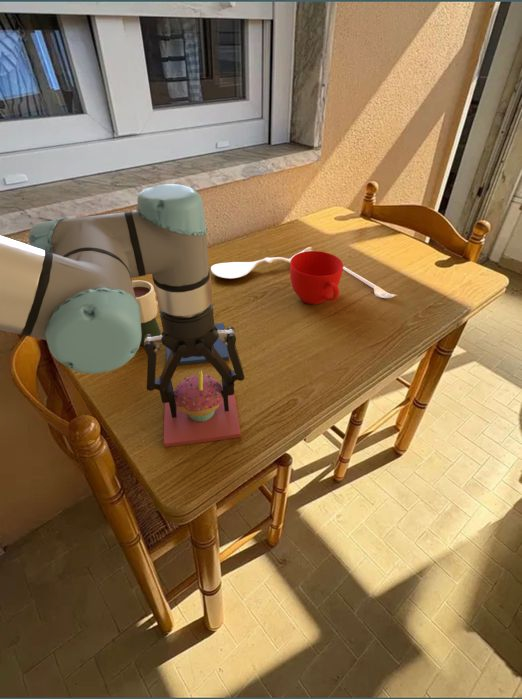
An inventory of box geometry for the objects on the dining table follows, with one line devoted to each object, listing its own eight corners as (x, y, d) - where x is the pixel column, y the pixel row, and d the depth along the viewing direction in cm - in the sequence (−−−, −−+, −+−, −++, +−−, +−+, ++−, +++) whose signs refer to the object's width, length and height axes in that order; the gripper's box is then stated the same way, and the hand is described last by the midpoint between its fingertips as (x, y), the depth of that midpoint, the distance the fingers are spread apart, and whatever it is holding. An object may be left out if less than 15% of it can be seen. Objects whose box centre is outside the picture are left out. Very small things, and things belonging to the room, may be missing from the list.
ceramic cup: (308, 325, 90) (313, 289, 84) (279, 289, 102) (281, 255, 96) (355, 314, 94) (363, 278, 88) (322, 280, 106) (326, 247, 99)
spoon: (322, 269, 111) (324, 258, 109) (215, 286, 103) (214, 274, 101) (310, 255, 117) (311, 245, 115) (208, 270, 109) (207, 259, 107)
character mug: (166, 323, 90) (157, 275, 82) (175, 341, 85) (166, 291, 77) (119, 335, 86) (105, 286, 78) (125, 354, 82) (110, 304, 73)
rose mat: (164, 447, 64) (163, 443, 63) (165, 394, 73) (165, 391, 72) (240, 437, 66) (240, 433, 65) (233, 387, 75) (232, 383, 74)
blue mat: (166, 366, 79) (165, 363, 78) (167, 331, 88) (167, 327, 87) (228, 360, 81) (228, 356, 80) (223, 326, 90) (223, 322, 89)
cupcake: (233, 414, 68) (231, 365, 61) (193, 439, 64) (185, 390, 56) (207, 387, 73) (201, 339, 66) (168, 408, 69) (157, 360, 61)
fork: (346, 267, 112) (347, 261, 110) (397, 300, 99) (399, 294, 98) (337, 270, 110) (338, 264, 109) (388, 304, 98) (390, 297, 96)
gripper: (256, 284, 58) (255, 386, 72) (110, 295, 55) (141, 399, 70) (264, 312, 52) (262, 417, 67) (102, 326, 49) (137, 433, 64)
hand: (200, 408), depth 68 cm, fingers closed on cupcake, 8 cm apart
